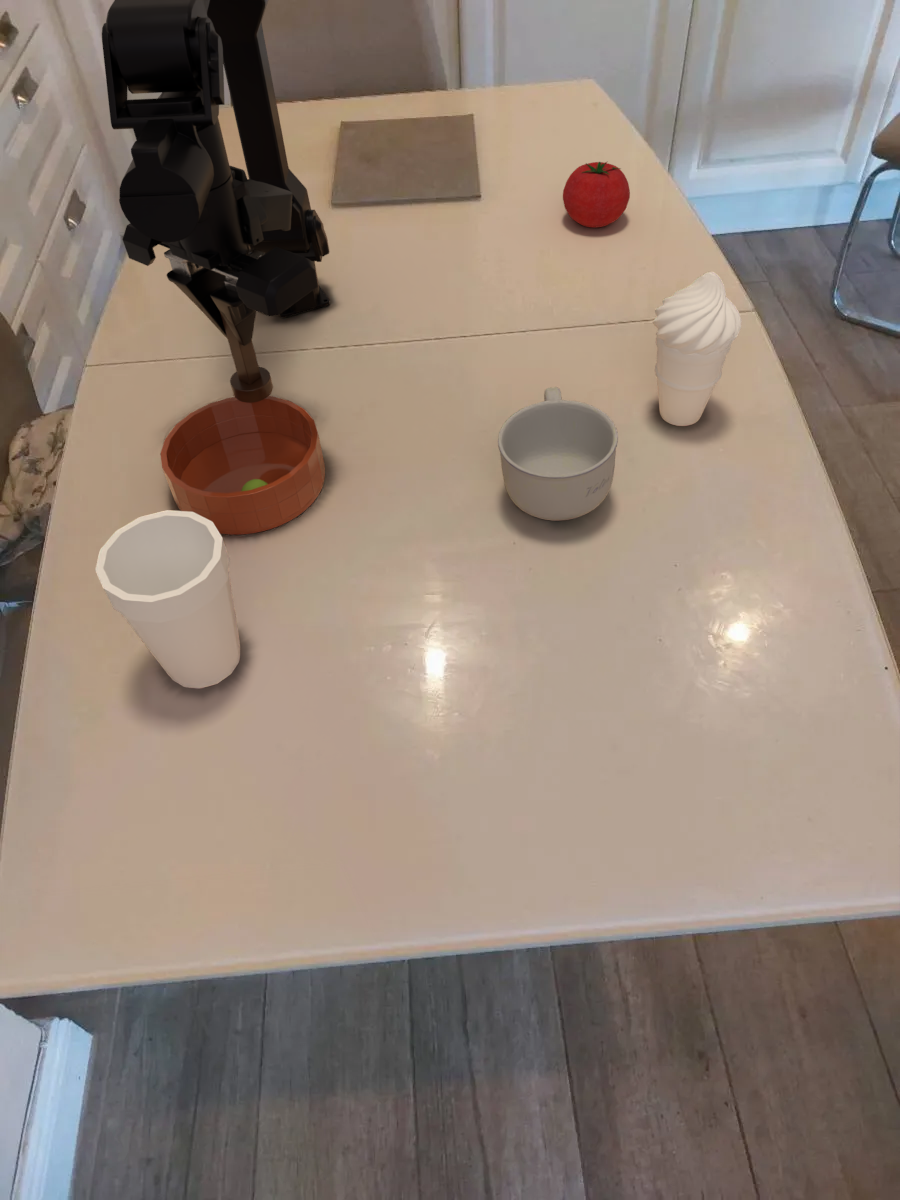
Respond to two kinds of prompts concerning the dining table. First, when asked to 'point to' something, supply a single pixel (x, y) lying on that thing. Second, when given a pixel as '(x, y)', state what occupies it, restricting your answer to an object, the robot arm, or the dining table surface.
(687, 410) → the ice cream cone
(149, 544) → the foam cup
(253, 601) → the dining table surface
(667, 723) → the dining table surface
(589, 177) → the tomato
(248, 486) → the grape
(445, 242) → the dining table surface
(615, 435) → the teacup
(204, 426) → the bowl
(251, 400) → the stir stick
